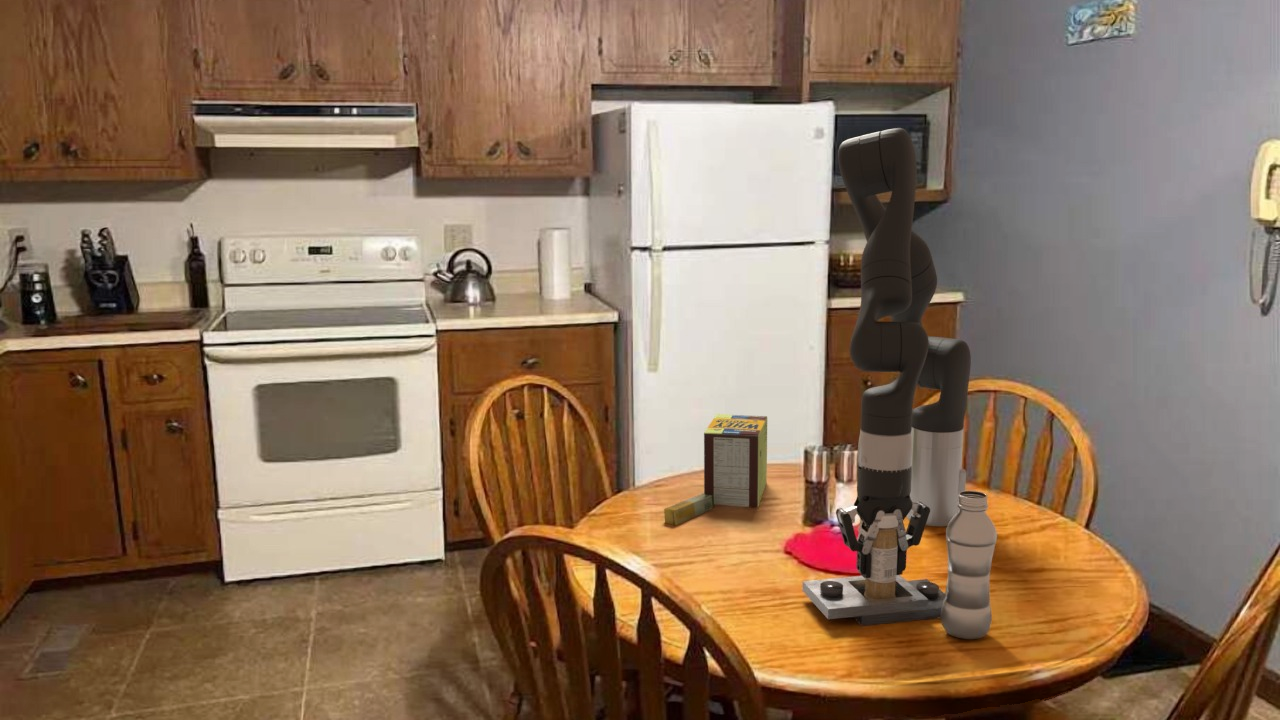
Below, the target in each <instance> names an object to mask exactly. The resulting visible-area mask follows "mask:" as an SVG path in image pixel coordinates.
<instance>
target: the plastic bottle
mask: <svg viewBox="0 0 1280 720" xmlns="http://www.w3.org/2000/svg"><path fill="white" fill-rule="evenodd" d="M957 507H958V508H959V511H958V512H957V513H956V514H955V515H954V516H953V518H952V519H951V520H950V522H949V523H948V526H946V529H945V538H946V539H945V540H946V549H947V568H948V569H947V580H946V586H945V592H944V593H945V598H944V601H943V604H942V609H941V618H940V622H941V626H942V627H943V629H944V630H945V632H946V633H947V634H948V635H951V636H952V637H955V638H959V639H965V640H974V639H975V640H977V639H981V638H983V637H985V636H986V635H987V634H988V632H989V631H990V630H991V629H990V628H991V625H992V619H993V617H992V616H993V615H992V607H991V603H990V602H991V598H990V596H991V595H990V578H991V568H992V561H993V556H994V553H995V548H996V547H995V546H996V544H997V537H998V532H997V528H996V526H995V524H994V523H993V520H992V519H991V518H990V516H989V515H988V514H987V513H986V511H988V509H989V505H988V495H987V493H985V492H982V491H977V490H965V491H961V492H959V494H958V503H957Z"/></svg>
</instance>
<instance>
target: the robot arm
mask: <svg viewBox="0 0 1280 720" xmlns="http://www.w3.org/2000/svg"><path fill="white" fill-rule="evenodd" d="M914 146H915V145H914V143H913V140H912V137H911V136H910V134H909V132H908V131H907V130H906V129H904V128H901V127H897V128H896V127H895V128H890V129H885V130H881V131H876V132H871V133H867V134H863V135H860V136H855V137H852V138H848V139H846V140H844V141H842V142H841V144H840V145H839V147H838V150H837V162H838V168H839V172H840V175H841V179H842V182H843V184H844V188H845V190H846V192H847V195H848V198H849V199H850V200H849V201H850V202H851V204H852V208H853V209H854V212H855V214H856V216H857V218H858V220H859V223H860V226H861V229H862V231H863V234H864V236H865V239H866V243H865V246H864V248H863V251H862V254H861V260H860V288H861V289H860V291H861V293H860V297H861V298H860V306H859V311H858V316H857V319H856V323H855V326H854V329H853V332H852V336H851V338H850V339H851V340H850V344H849V356H850V360H851V362H852V363H853V365H854V366H855V367H856V368H857V369H858V370H860V371H863V372H867V373H869V372H872V373H873V372H874V373H878V372H879V373H880V372H881V373H883V372H884V373H886V372H888V373H899V374H898V376H897V377H896V378H895V379H894V380H893V381H892V382H890V383H887V384H884V385H879V386H874V387H870V388H868V389H867V388H866V390H865V391H864V392H862V395H861V404H860V405H861V406H860V432H859V438H858V445H857V470H856V471H857V473H856V474H857V477H856V493H857V494H856V495H857V497H856V499H855V501H854V503H853V505H852V506H850V507H847V508H844V509H843V508H842V507H838V508H837V509H836V510H835V515H836V518H837V522H838V526H839V530H840V534H841V538H842V541H843V545H845V546H846V547H848V549H849V550H850V551H851V552H856V565H855V567H856V570H857V572H858V573H859V574H860V576H863V577H864V578H870V574H871V554H870V553H869V552H870V549H871V546H872V543H873V541H874V540H875V539H876V537H877V534H878V531H879V528H878V522H880V521H881V519H882V517H883V516H884V515H885V514H886V513H892V514H893V515H895V516H896V519H897V520H898V526H897V527H896V528H897V545H898V550H897V574H896V575H900V576H902V575H903V571H905V570H906V567H907V555H908V554H907V551H908V549H909V548H910V547H912V546H915V547H916V546H919V545H920V543H921V540H922V537H923V534H924V531H925V528H926V526H928V527H929V526H930V527H947V526H948V523H949V522H950V520H951V519H952V518H953V516H954V515H955V514H956V513H957V512H958V511H959V508H958V507H957V503H958V494H959V492H961V491H966V485H967V483H966V482H967V470H966V469H965V468H963V467H962V463H963V446H964V429H965V428H964V426H965V417H966V412H967V406H968V393H969V384H970V383H969V382H970V376H971V365H972V364H971V363H972V362H971V359H972V357H971V350H970V347H969V345H968V343H967V342H966V341H964V340H963V339H959V338H949V337H943V336H942V337H941V336H939V337H938V336H930V335H928V333H927V330H925V328H924V327H923V323H922V319H923V316H924V314H925V312H926V310H927V308H928V307H929V306H930V304H931V301H932V299H933V297H934V295H935V292H936V290H937V286H938V276H937V275H938V274H937V271H936V267H935V263H934V260H933V256H932V253H931V250H930V247H929V246H928V244H927V243H926V241H925V240H924V239H923V237H921V236H920V234H918V233H917V232H915V231H914V229H913V221H914V213H915V212H914V211H915V202H916V190H917V189H916V188H917V178H918V177H917V174H918V173H917V172H918V169H917V156H916V150H915V147H914ZM889 192H891V195H890V198H889V202H888V205H887V206H886V207H885V206H884V205H883V204H882V202H881V201H880V199H879V197H878V196H877V195H880V194H884V193H885V194H886V193H889ZM886 317H890V319H891V321H879V320H881V319H883V318H884V319H885V318H886ZM917 387H919V388H924V389H932V390H939V391H940V393H939V399H938V400H937V401H936V402H933V403H928V404H924V405H920V406H917V407H915V408H914V407H913V406H914V398H915V393H916V391H917V390H916V389H917ZM856 516H859V518H860V520H861V521H860V523H859V525H858V526H859V527H858V535H857V536H856V532H855V528H854V526H853V524H855V523H856V522H855V521H856ZM906 518H907V520H909V522H908V524H907V527H906V526H905V524H904V520H905V519H906ZM875 525H876V526H875ZM867 527H868V528H869V531H868V529H867ZM905 527H906V528H905Z"/></svg>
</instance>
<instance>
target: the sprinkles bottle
mask: <svg viewBox="0 0 1280 720" xmlns="http://www.w3.org/2000/svg"><path fill="white" fill-rule="evenodd" d="M875 526H876V525H875ZM897 526H898V520H897V519H896V516H895V515H893V514H892V513H886V514H885V515H884V516H883V517H882V519H881V521H880V522H878V528H879V531H878V534H877V537H876V539H875V540H874V541H873V543H872V546H871V549H870V552H869V553H870V554H871V574H870V578H866V585H865V593H864V596H865V598H866V599H867V600H878V599H888V598H896V595H895V580H896V574H897V550H898V545H897V528H896V527H897ZM867 529H868V531H869V528H868V527H867Z"/></svg>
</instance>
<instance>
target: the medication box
mask: <svg viewBox="0 0 1280 720" xmlns="http://www.w3.org/2000/svg"><path fill="white" fill-rule="evenodd" d="M714 508H715V504H714V503H713V495H711V494H704V493H701V494H698V495H696V496H695V495H694V496H693V497H690V498H688V499H686V500H684V501H681V502H678V503H675V504H672V505H670V506H668V507H664V508H663V512H664V522H665V523H666V524H668V525H673V526H678V525H681V524H683V523H685V522H687V521H689V520H692V519H693V518H695V517H698V516H699V515H702V514H704V513H706V512H708V511H709V510H713V509H714Z"/></svg>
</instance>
